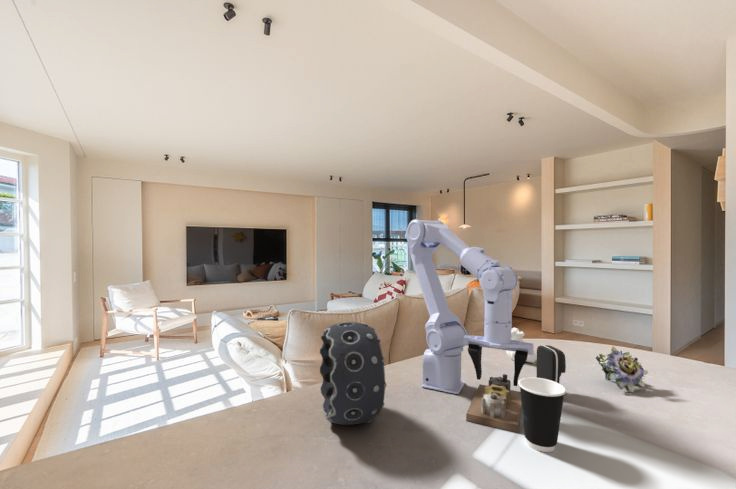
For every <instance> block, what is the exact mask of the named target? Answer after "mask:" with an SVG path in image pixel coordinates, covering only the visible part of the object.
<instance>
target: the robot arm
mask: <svg viewBox="0 0 736 489" xmlns="http://www.w3.org/2000/svg"><path fill="white" fill-rule="evenodd" d="M405 238H406V241H407V244H408V247H409V250H410V259H411V262H412V265H413V268H414V272H415V274H416V278H417V281H418V284H419V286H420V290H421V294H422V296H423V300H424V303H425V306H426V309H427V312H428V315H429V319H428V320H427V322H426V323H425V325H424V330H425V333H426V336H425V337H426V339H425V340H426V344H427V346H428V348H427V349H425V351H424V353H423V357H422V384H421V387H422V388H424V389H429V390H430V389H431V390H435V391H440V392H445V393H451V394H455V395H460V393H461V391H462V389H463V388H464V387H465V384H466V381H465V380H462V352H464V347H466V346H467V353H468V355H469V357H470V360H471V361H472V364H473V367H474V370H475V375H476V380H481V379H482V374H483V372H482V368H483V367H482V353H483V348H487V349H494V350H502V351H506V350H508V351H515V355H514V360H513V361H514V374H513V387H518V385H519V384H518V381H519V377H520V374H521V371H522V370H523V367H524V365H525V363H527V362H526V360H527V356H528V354H530V355H533V350H534V343H531V342H527V341H524V342H521V341H517V340H512V339H511V335H512V329H513V327H512V326H513V319H512V318H513V316H512V315H513V291H514V290H515V289H516V287H517V286H518V283H519V279H518V274H517V273H516V271H515V270H514V269H513V267H511V266H510V265H501V264H500V261H499V260H497V259H493V258H492V257H491V256H490V255H488V254H487V253H486V252H485V251H486V249H484V248H483V247H480V246H479V247H478V246H471V247H470V246H469V245H467V244H466V243H465V242H464V241H463V240H462V239H461V238H460V237H459V236H458V235H456V234H455V233H454V232H453V231H451V229H450V228H449V225H447V224H445V223H444V222H443V221H441V220H425V219H424V220H422V219H421V220H420V219H416V218H415V219H412V220H410V222H409V224H408V226H407V229H406V232H405ZM441 245H442V246H443V247H445V249H447V250H449V251H450V252H451V253H453V254H454V255H456V256H457V257H458V258H459V259H460V265H461V266H462V267H463V268H465V270H467V271H468V272H469V273H470V274H471V275H473V276H474V278H475V279H477V280H478V282H479V286H480V288H481V289H482V292H483V298H484V319H483V320H484V321H483V322H484V325H483V327H484V328H483V329H484V330H483V331H484V332H483V333H484V334H483V335H470V334H468V331H467V329H466V328H465V326H463V324H462V323H461V320H460V317H458V316H457V315H456V314H455V313H453V312H452V311H451V309H450V307H449V304H448V301H447V298H446V295H445V293H444V289H443V286H442V284H441V280H440V278H439V275H438V271H437V269H436V266H435V263H434V260H433V255H434V254H435V253H436V252H437V250H438V249H439V247H440V246H441Z"/></svg>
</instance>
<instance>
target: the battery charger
mask: <svg viewBox="0 0 736 489" xmlns="http://www.w3.org/2000/svg"><path fill="white" fill-rule="evenodd" d="M535 362H536V366H535V367H536V378H543V379H548V380H551V381H554V382H557V383H559V384H560V380H561V376H562V374H565V373H566V368H567V366H566V364H567V361H566V355H565V353H564V351H562V350H561V349H559V348H557V347H555V346H553V345H549V344H547V345H546V344H545V345H544V344H543V345H542V344H540V345H538V346H537V348H536V360H535Z"/></svg>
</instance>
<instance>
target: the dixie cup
mask: <svg viewBox="0 0 736 489" xmlns="http://www.w3.org/2000/svg"><path fill="white" fill-rule="evenodd" d="M517 385H518V386H519V390H520V391H519V392H521V403H522V409H521V414H522V420H523V421H522V422H523V433H524V438H525V442H526V444H527V446H528V447H530V448H532V449H533V450H535V451H539V452H541V453H542V452H543V453H552V452H554V451H555V450H556V445H557V444H558V438H559V431H560V426H561V425H560V424H561V417H562V410H563V405H564V396H565V394H566V393H567V389H566V388H565V386H564V385H562V384H561V383H560V382H559V383H557V382H554V381H551V380H548V379H543V378H537V376H535V377H532V376H531V377H524V378H521V379H518V384H517Z"/></svg>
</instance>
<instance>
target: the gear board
mask: <svg viewBox="0 0 736 489" xmlns="http://www.w3.org/2000/svg"><path fill="white" fill-rule="evenodd" d="M491 384H494V385H497V386H501V387H502V386H504V387H506V389H507V390H508V391H509V405H506V398H505V397H501V396H499V395H497V394H495V393H493V394H485V387H486V386H487V387H488V386H491ZM495 391H498V390H495ZM465 414H466V415H465V421H466V422H470V423H475V424H478V425H482V426H483V425H484V426H487V427H492V428H495V429H501V430H505V431H509V432H512V433H518V434H519V429H520V423H521V416H522V403H521V392H520V391H519V390H513V389H511V380H510V379H508V374H506V373H503V374H502V376H497V377H496V376H495V377H494V376H490V377H489V379H488V385H486V384H479V385H478V386H477V390H476V391H475V394H474V396H473V398H472V401H471V403H470V405H469V406H468V409H467V411H466V413H465Z"/></svg>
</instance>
